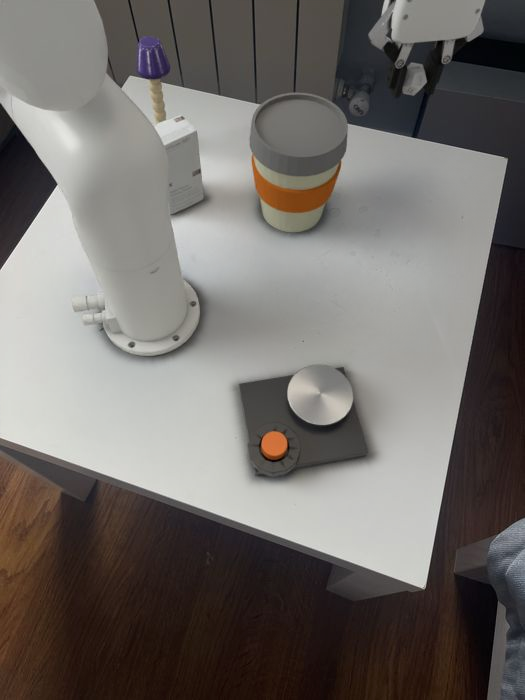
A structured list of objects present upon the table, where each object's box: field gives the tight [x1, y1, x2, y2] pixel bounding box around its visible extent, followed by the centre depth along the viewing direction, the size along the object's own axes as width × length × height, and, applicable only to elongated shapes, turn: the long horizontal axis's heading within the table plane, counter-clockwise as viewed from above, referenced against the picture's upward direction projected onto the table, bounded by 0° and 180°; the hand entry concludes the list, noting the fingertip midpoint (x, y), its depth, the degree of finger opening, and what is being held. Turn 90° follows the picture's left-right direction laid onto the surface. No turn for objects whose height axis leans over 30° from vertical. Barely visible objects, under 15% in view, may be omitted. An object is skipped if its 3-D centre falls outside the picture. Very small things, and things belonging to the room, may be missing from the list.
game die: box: [402, 62, 427, 97], centre depth 67 cm, size 4×4×3 cm
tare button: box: [261, 431, 287, 460], centre depth 59 cm, size 3×3×2 cm
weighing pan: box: [287, 364, 354, 426], centre depth 62 cm, size 8×8×1 cm
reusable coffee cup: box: [249, 92, 349, 233], centre depth 73 cm, size 13×13×15 cm
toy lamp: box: [136, 35, 171, 125], centre depth 79 cm, size 5×5×17 cm
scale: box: [238, 366, 369, 478], centre depth 62 cm, size 13×12×3 cm
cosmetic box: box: [153, 114, 205, 215], centre depth 75 cm, size 6×4×12 cm
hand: (409, 88), depth 68 cm, fingers closed on game die, 3 cm apart
